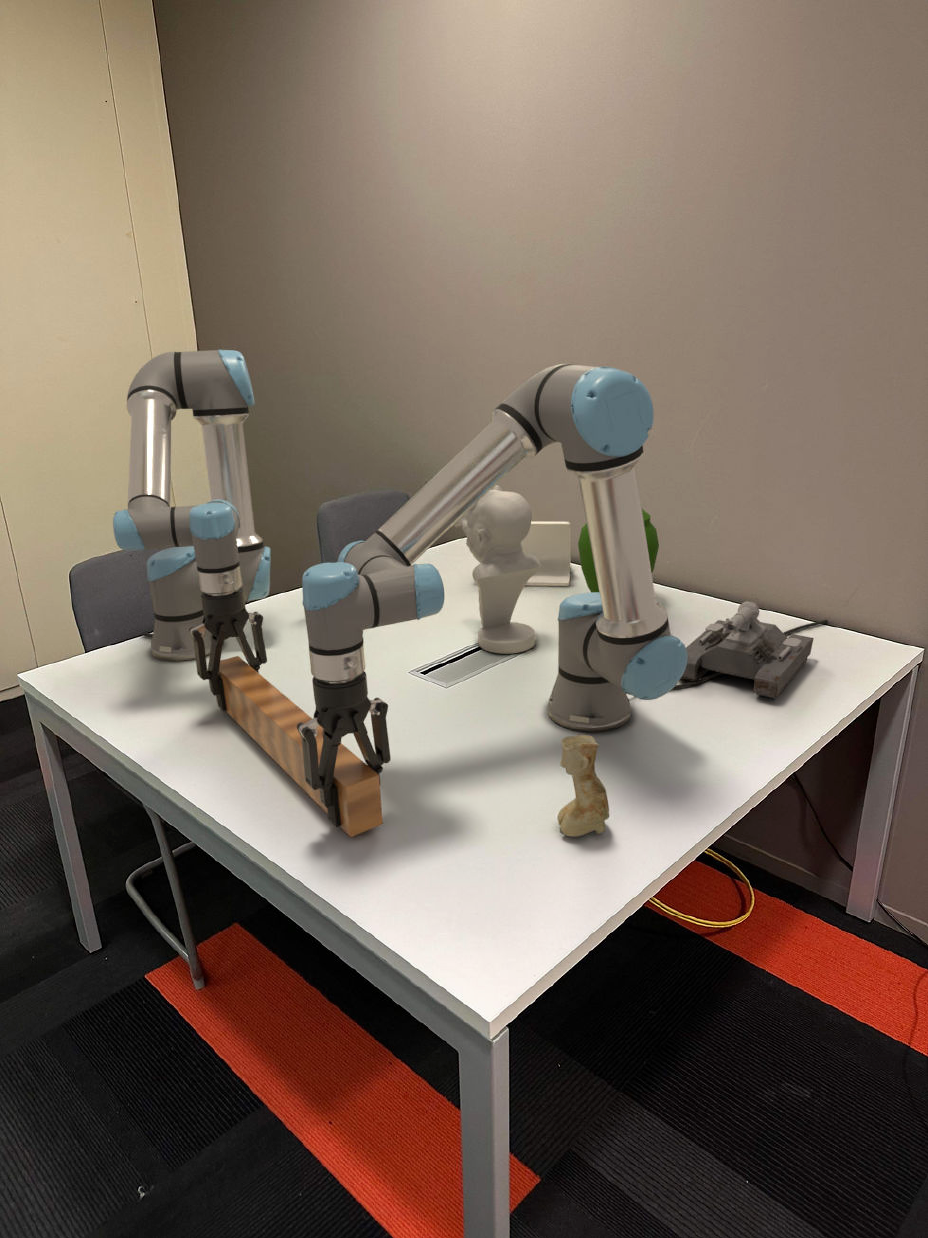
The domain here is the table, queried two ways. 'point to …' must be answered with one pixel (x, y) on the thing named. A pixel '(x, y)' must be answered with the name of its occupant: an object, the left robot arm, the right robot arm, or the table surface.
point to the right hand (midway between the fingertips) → (353, 814)
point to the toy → (748, 652)
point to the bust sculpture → (500, 567)
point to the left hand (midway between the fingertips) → (238, 703)
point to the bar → (298, 744)
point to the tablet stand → (549, 552)
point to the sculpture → (583, 788)
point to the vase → (587, 556)
